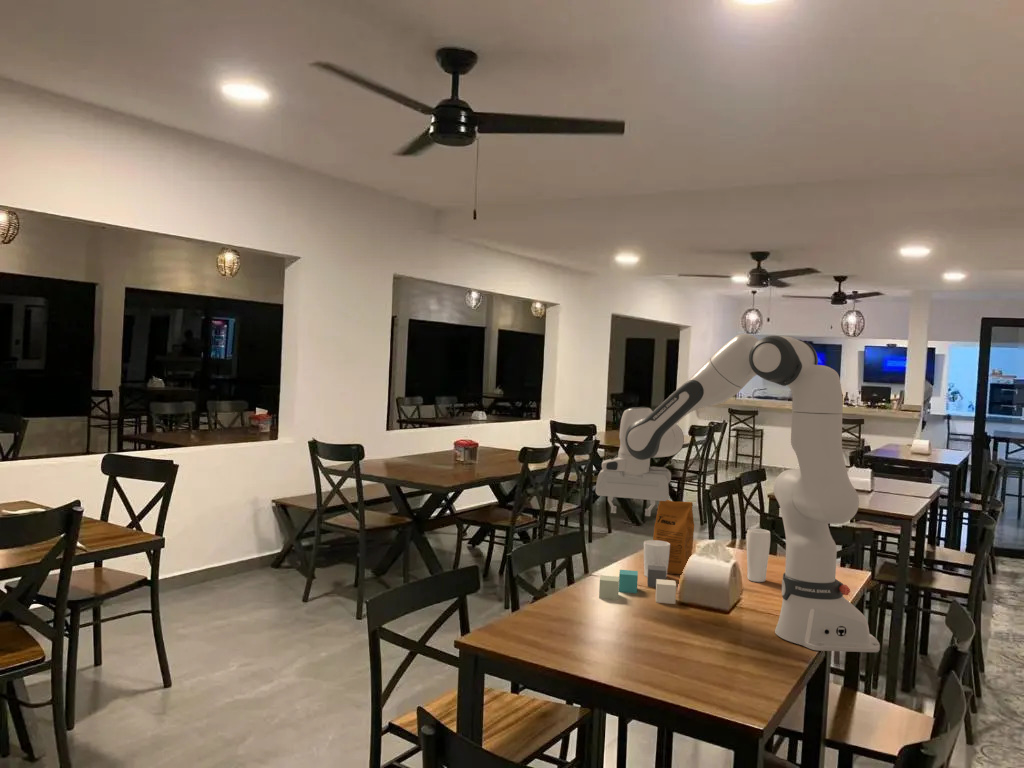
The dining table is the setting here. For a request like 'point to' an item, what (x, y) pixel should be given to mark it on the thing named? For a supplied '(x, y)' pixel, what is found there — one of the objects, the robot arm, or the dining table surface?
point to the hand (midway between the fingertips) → (630, 514)
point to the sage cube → (609, 587)
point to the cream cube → (665, 591)
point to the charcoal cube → (655, 574)
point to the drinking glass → (757, 554)
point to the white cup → (656, 554)
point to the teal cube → (628, 581)
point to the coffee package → (675, 532)
